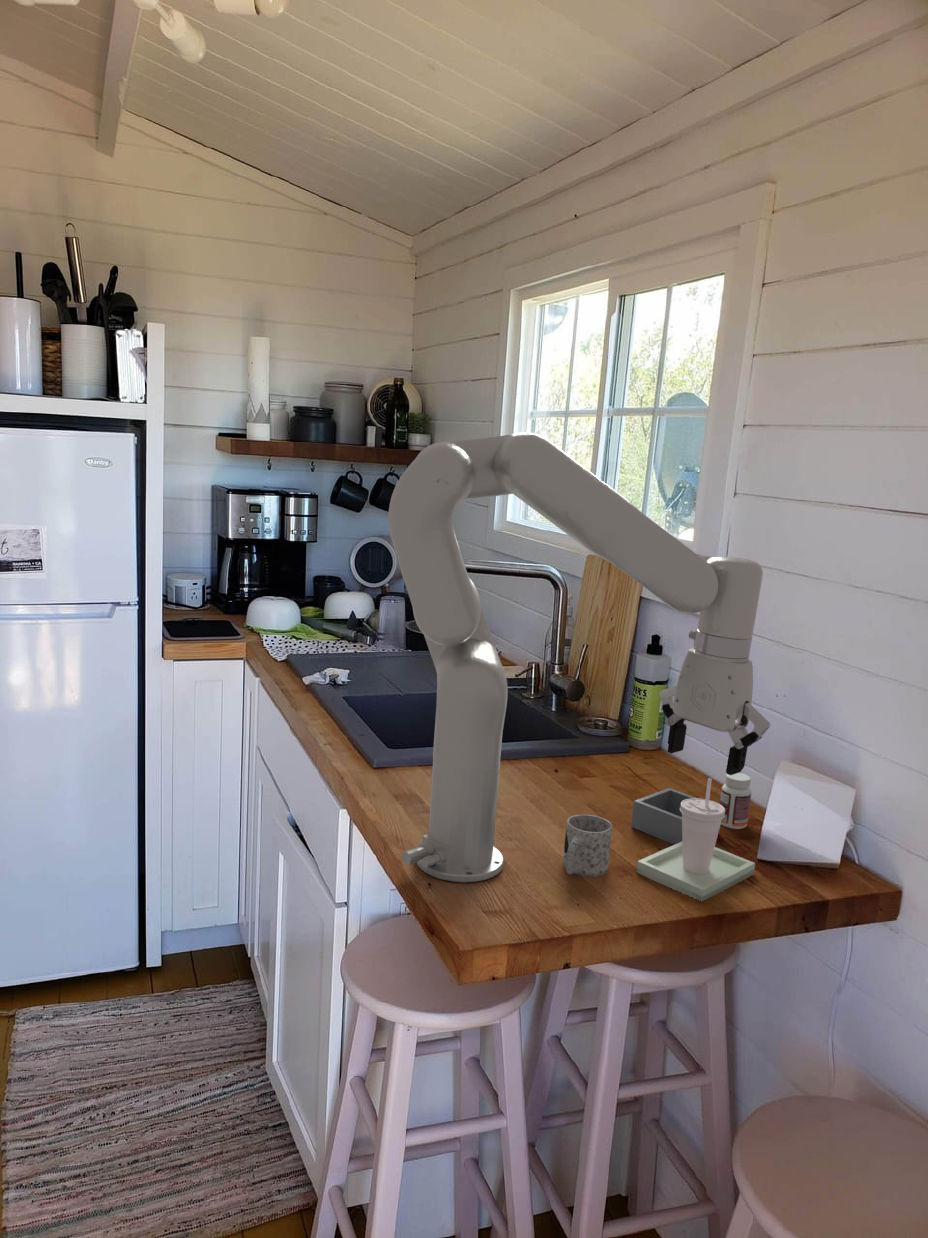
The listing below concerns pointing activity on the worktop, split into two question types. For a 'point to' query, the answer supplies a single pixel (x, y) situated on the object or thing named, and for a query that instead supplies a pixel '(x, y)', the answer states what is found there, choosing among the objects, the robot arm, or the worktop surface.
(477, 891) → the worktop surface
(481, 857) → the robot arm
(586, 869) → the mug
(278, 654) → the worktop surface
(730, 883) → the tray
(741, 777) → the pill bottle
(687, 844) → the smoothie
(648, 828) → the grey square tube frame
